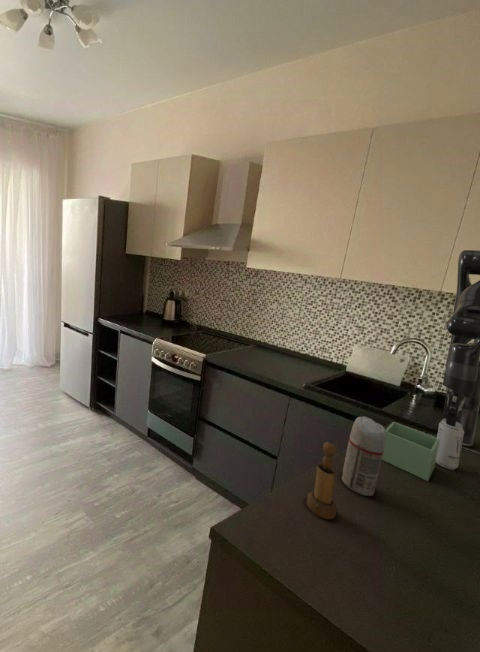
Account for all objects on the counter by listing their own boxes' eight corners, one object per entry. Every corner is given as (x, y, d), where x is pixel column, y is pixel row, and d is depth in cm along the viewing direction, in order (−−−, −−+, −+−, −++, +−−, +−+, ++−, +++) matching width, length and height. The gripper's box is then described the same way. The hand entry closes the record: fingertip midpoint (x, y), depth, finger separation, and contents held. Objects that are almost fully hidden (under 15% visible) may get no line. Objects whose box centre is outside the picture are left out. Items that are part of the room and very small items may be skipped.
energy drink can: (452, 472, 109) (459, 428, 108) (429, 460, 114) (436, 418, 113) (461, 468, 111) (468, 426, 110) (438, 457, 117) (445, 416, 116)
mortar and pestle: (301, 498, 90) (310, 435, 88) (323, 499, 90) (332, 436, 89) (317, 519, 83) (328, 451, 82) (341, 520, 84) (352, 452, 82)
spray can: (371, 483, 99) (382, 419, 98) (379, 502, 92) (391, 433, 90) (338, 472, 102) (348, 410, 101) (344, 489, 95) (354, 423, 94)
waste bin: (388, 447, 120) (393, 421, 119) (434, 467, 111) (439, 439, 110) (379, 458, 112) (384, 431, 112) (428, 481, 103) (433, 451, 102)
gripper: (474, 384, 104) (465, 433, 104) (478, 376, 113) (470, 422, 113) (441, 374, 109) (433, 421, 110) (447, 368, 118) (440, 411, 119)
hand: (452, 421), depth 112 cm, fingers open, 8 cm apart
